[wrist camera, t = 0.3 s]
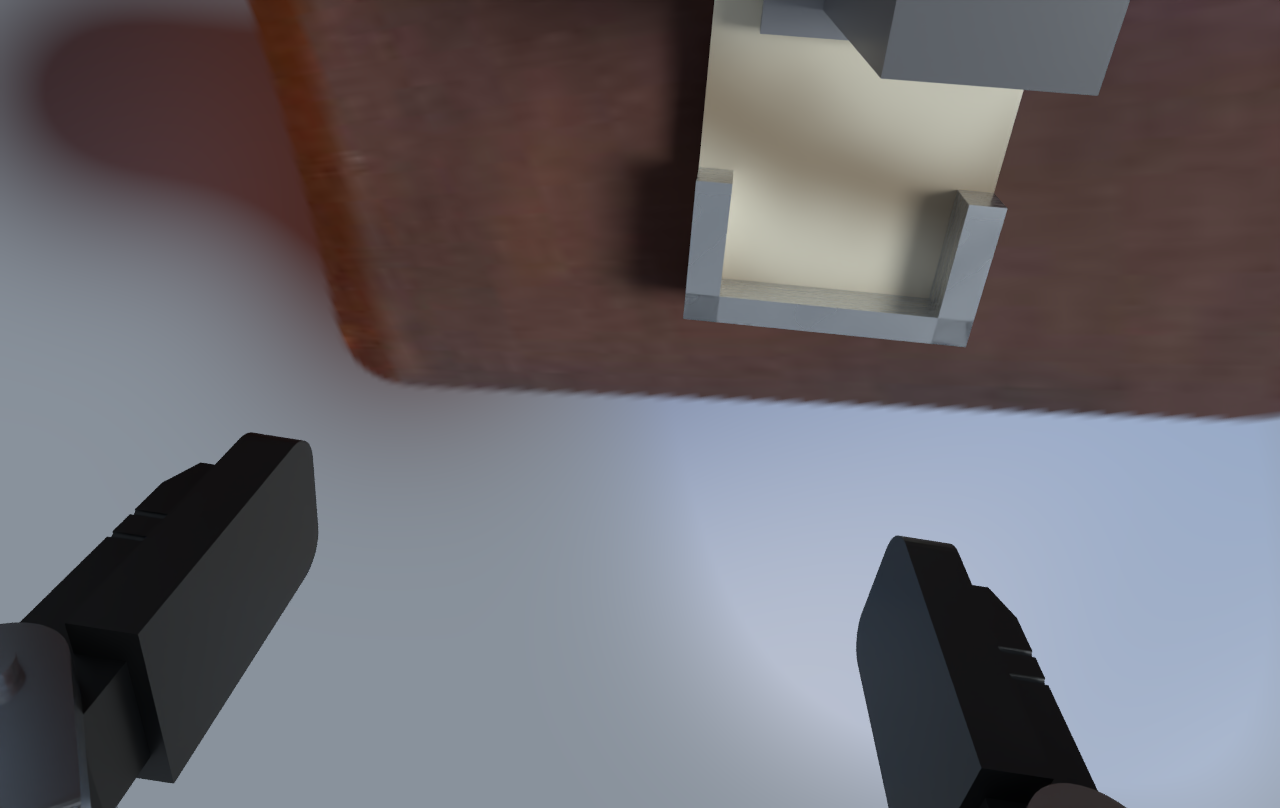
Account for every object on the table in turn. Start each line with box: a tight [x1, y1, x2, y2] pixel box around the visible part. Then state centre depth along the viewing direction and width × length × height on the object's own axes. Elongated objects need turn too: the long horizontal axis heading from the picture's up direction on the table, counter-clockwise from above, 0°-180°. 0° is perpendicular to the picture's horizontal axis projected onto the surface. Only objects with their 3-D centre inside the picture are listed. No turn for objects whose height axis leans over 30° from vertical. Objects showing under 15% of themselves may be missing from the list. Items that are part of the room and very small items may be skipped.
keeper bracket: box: [683, 167, 1007, 347], centre depth 28 cm, size 5×10×2 cm, turn 87°
